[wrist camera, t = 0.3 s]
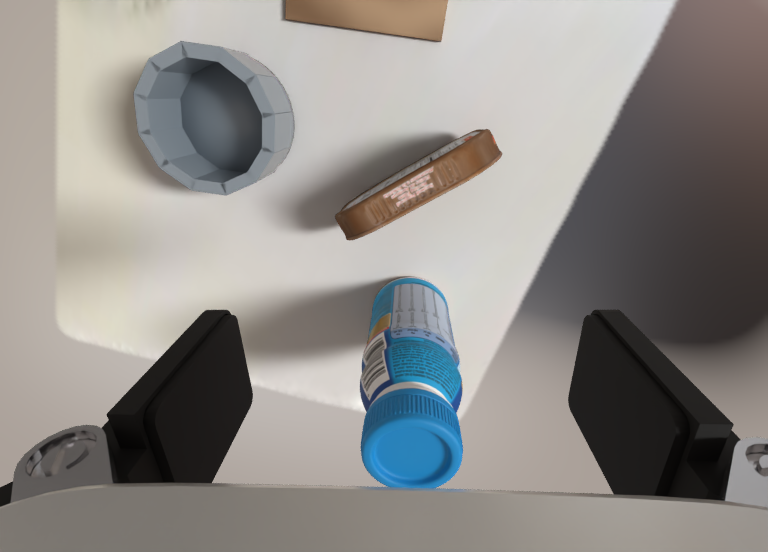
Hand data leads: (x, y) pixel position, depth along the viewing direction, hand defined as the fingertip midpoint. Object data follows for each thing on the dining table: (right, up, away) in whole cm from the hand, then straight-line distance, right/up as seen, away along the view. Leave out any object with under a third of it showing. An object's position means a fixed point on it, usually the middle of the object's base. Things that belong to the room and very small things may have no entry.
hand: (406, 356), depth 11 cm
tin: (+2, +12, +27) cm, 30 cm away
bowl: (-14, +17, +26) cm, 34 cm away
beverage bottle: (+2, -1, +33) cm, 33 cm away
